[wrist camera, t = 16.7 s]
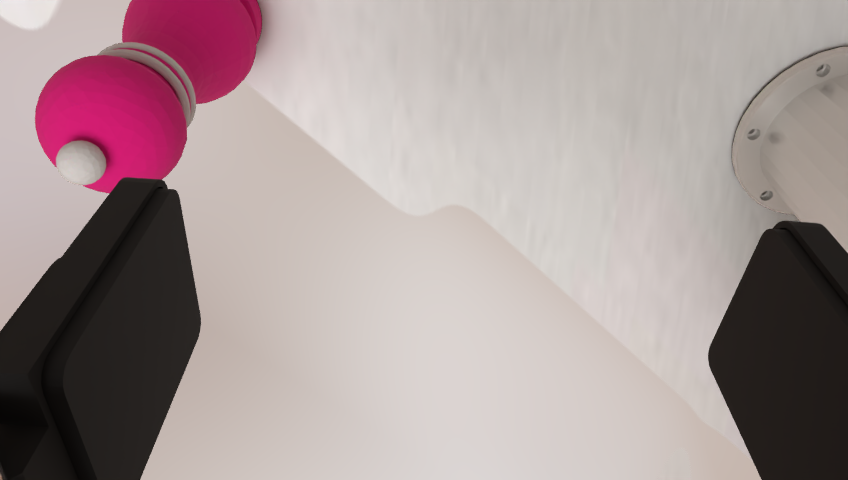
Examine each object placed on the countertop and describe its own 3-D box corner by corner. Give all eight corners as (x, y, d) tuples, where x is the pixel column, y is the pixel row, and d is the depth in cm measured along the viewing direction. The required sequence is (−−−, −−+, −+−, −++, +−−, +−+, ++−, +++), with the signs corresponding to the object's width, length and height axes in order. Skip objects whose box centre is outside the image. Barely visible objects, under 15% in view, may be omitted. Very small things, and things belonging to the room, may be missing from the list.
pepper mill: (235, 90, 44) (122, 276, 28) (135, 23, 42) (-53, 186, 25) (291, 5, 41) (199, 161, 25) (186, -73, 38) (6, 44, 22)
